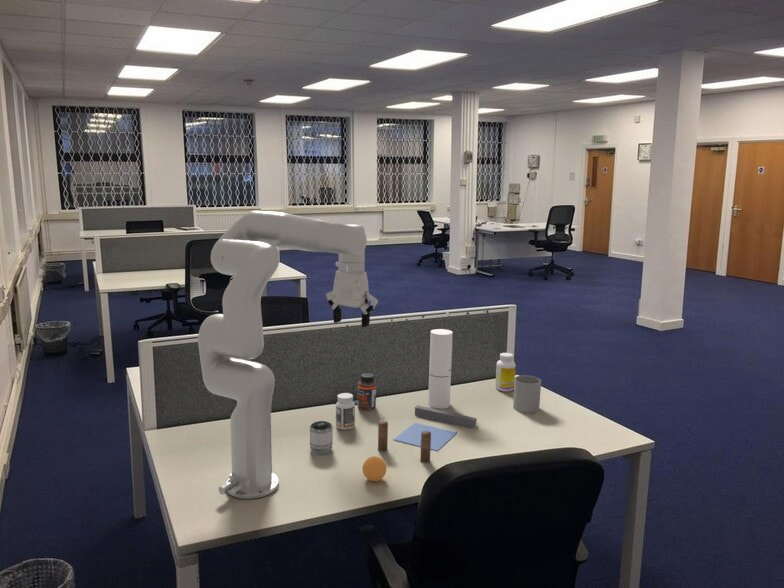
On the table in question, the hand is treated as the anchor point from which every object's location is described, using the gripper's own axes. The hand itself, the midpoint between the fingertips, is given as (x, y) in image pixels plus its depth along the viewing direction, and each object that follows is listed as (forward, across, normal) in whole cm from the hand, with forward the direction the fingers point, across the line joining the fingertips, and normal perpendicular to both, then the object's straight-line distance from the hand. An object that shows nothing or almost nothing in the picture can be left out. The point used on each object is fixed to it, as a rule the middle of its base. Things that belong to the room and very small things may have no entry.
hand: (351, 324), depth 187 cm
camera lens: (+32, +3, -20) cm, 37 cm away
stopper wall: (+31, +24, +17) cm, 43 cm away
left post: (+31, +17, -11) cm, 37 cm away
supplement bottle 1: (+32, -2, +13) cm, 34 cm away
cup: (+32, +43, +40) cm, 67 cm away
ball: (+28, +24, -27) cm, 46 cm away
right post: (+31, +30, -11) cm, 45 cm away
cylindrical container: (+31, +17, +28) cm, 45 cm away
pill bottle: (+32, 0, -3) cm, 32 cm away
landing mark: (+31, +24, +3) cm, 39 cm away
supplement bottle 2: (+31, +31, +54) cm, 70 cm away
